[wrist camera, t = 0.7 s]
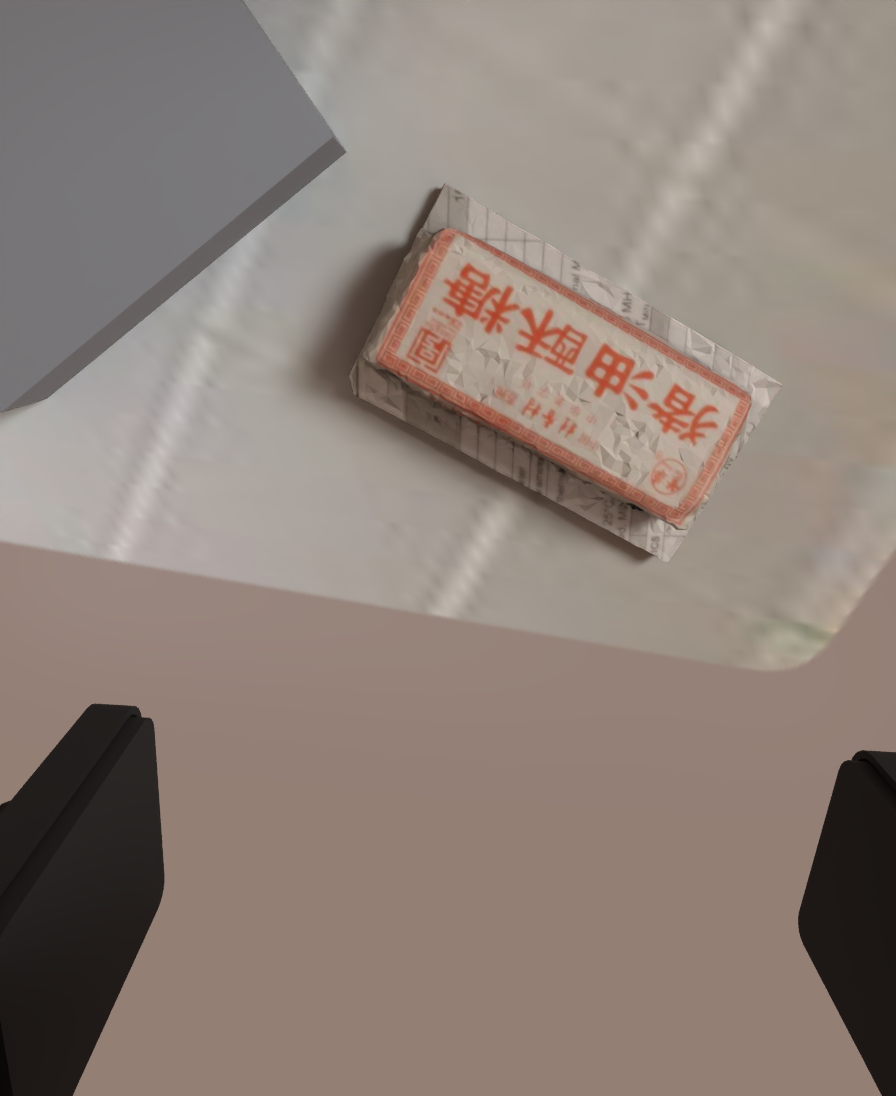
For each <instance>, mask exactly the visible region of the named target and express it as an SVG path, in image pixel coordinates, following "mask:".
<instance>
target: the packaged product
mask: <svg viewBox="0 0 896 1096" xmlns="http://www.w3.org/2000/svg"><path fill="white" fill-rule="evenodd" d="M349 379H350V383H351V387H352V391H353V394H354V395H355V396H357V397H359V398H361V399H363V400H365V401H367V402H369V403H371V404H373V405H375V406H376V407H378V408H380V409H382V410H384V411H386V412H388V413H390V414H392V415H394V416H395V417H397V418H399V419H401V420H403V421H405V422H407V423H409V424H411V425H413V426H414V427H416V428H418V429H420V430H422V431H424V432H426V433H428V434H429V435H431V436H433V437H435V438H437V439H439V440H441V441H442V442H444V443H446V444H448V445H450V446H452V447H454V448H455V449H457V450H459V451H461V452H463V453H465V454H467V455H468V456H470V457H472V458H474V459H476V460H477V461H479V462H481V463H483V464H485V465H486V466H488V467H490V468H492V469H494V470H495V471H497V472H499V473H501V474H503V475H505V476H507V477H509V478H511V479H513V480H514V481H516V482H518V483H520V484H522V485H524V486H526V487H528V488H530V489H532V490H534V491H536V492H537V493H539V494H541V495H543V496H545V497H547V498H549V499H551V500H552V501H554V502H556V503H558V504H560V505H562V506H564V507H566V508H568V509H570V510H571V511H573V512H575V513H577V514H578V515H580V516H582V517H584V518H586V519H587V520H589V521H591V522H593V523H595V524H597V525H599V526H600V527H602V528H604V529H606V530H608V531H610V532H612V533H614V534H615V535H617V536H619V537H621V538H623V539H625V540H627V541H629V542H630V543H632V544H634V545H635V546H637V547H640V548H642V549H644V550H645V551H647V552H649V553H651V554H653V555H654V556H656V557H658V558H660V559H661V560H663V561H665V562H668V561H669V559H670V558H671V556H672V555H673V553H674V552H675V551H676V549H677V548H678V546H679V545H680V543H681V542H682V540H683V539H684V537H685V536H686V534H687V532H688V530H689V529H690V527H691V525H692V524H693V522H694V521H695V520H696V518H697V517H698V516H699V514H700V512H701V511H702V509H703V508H704V506H705V504H706V503H707V501H708V500H709V499H710V497H711V495H712V493H713V491H714V490H715V488H716V486H717V484H718V483H719V481H720V479H721V478H722V476H723V475H724V474H725V472H726V471H727V469H728V468H729V467H730V465H731V464H732V462H733V460H734V459H735V457H736V456H737V454H738V453H739V451H740V450H741V449H742V447H743V446H744V444H745V443H746V441H747V440H748V438H749V437H750V435H751V434H752V432H753V431H754V429H755V428H756V426H757V424H758V423H759V421H760V420H761V418H762V417H763V415H764V414H765V412H766V411H767V409H768V408H769V404H770V402H771V400H772V399H773V398H774V396H775V395H776V394H777V392H778V391H779V390H780V388H781V387H782V384H781V383H779V382H777V381H776V380H774V379H772V378H771V377H769V376H767V375H766V374H764V373H763V372H761V371H759V370H758V369H756V368H755V367H753V366H752V365H750V364H748V363H747V362H745V361H743V360H742V359H740V358H738V357H737V356H735V355H733V354H732V353H730V352H728V351H727V350H725V349H723V348H722V347H720V346H719V345H717V344H715V343H714V342H712V341H710V340H709V339H707V338H705V337H703V336H702V335H700V334H698V333H697V332H695V331H693V330H692V329H690V328H688V327H687V326H685V325H683V324H681V323H680V322H678V321H676V320H675V319H673V318H671V317H669V316H668V315H666V314H664V313H663V312H661V311H659V310H657V309H656V308H654V307H652V306H651V305H649V304H647V303H645V302H644V301H642V300H640V299H638V298H637V297H635V296H633V295H632V294H630V293H629V292H628V291H626V290H624V289H623V288H621V287H619V286H617V285H616V284H614V283H612V282H611V281H609V280H607V279H605V278H603V277H601V276H599V275H597V274H595V273H593V272H591V271H589V270H587V269H585V268H583V267H582V266H581V265H580V263H578V262H576V261H574V260H572V259H571V258H569V257H567V256H566V255H564V254H562V253H561V252H559V251H558V250H557V249H556V248H554V247H553V246H551V245H549V244H547V243H546V242H544V241H542V240H540V239H538V238H537V237H535V236H533V235H531V234H530V233H528V232H526V231H524V230H523V229H521V228H519V227H517V226H516V225H514V224H512V223H510V222H509V221H507V220H505V219H504V218H502V217H501V216H499V215H497V214H496V213H494V212H492V211H491V210H489V209H487V208H485V207H483V206H481V205H480V204H478V203H477V202H475V201H474V200H472V199H471V198H469V197H467V196H466V195H464V194H462V193H461V192H459V191H457V190H456V189H454V188H453V187H451V186H449V185H448V184H446V183H444V185H443V187H442V189H441V191H440V193H439V195H438V197H437V199H436V201H435V203H434V205H433V207H432V209H431V211H430V212H429V214H428V216H427V218H426V220H425V222H424V224H423V226H422V228H421V229H420V230H419V232H418V234H417V235H416V237H415V240H414V242H413V244H412V247H411V249H410V251H409V253H408V254H407V255H406V257H405V258H404V259H403V262H402V264H401V266H400V269H399V271H398V273H397V275H396V277H395V279H394V281H393V283H392V285H391V287H390V289H389V291H388V294H387V296H386V301H385V303H384V305H383V307H382V310H381V312H380V314H379V316H378V318H377V320H376V322H375V324H374V326H373V329H372V331H371V333H370V335H369V337H368V338H367V340H366V342H365V344H364V346H363V348H362V350H361V352H360V354H359V356H358V358H357V360H356V362H355V364H354V366H353V368H352V370H351V372H350V374H349Z"/></svg>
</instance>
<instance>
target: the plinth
mask: <svg viewBox="0 0 896 1096" xmlns="http://www.w3.org/2000/svg"><path fill="white" fill-rule="evenodd" d="M345 153H346V151H345V149H344V148H343V147H342V145H341V144H340V142H339V141H338V139H337V138H336V136H335V135H334V133H333V132H332V131H331V129H330V128H329V126H328V125H327V123H326V122H325V120H324V119H323V117H322V116H321V114H320V113H319V112H318V110H317V109H316V107H315V106H314V104H313V103H312V101H311V100H310V98H309V97H308V95H307V94H306V93H305V91H304V90H303V88H302V87H301V85H300V84H299V82H298V81H297V79H296V78H295V77H294V75H293V74H292V72H291V71H290V69H289V68H288V66H287V65H286V63H285V62H284V60H283V59H282V58H281V56H280V55H279V53H278V52H277V50H276V49H275V47H274V46H273V44H272V43H271V41H270V40H269V39H268V37H267V36H266V34H265V33H264V31H263V30H262V28H261V27H260V25H259V24H258V22H257V21H256V20H255V18H254V17H253V15H252V14H251V12H250V11H249V9H248V8H247V6H246V5H245V4H244V2H243V1H242V0H0V411H1V412H5V411H8V410H11V409H14V408H18V407H21V406H24V405H27V404H31V403H34V402H37V401H40V400H44V399H47V398H48V397H49V396H51V395H52V394H53V393H54V392H55V391H57V390H58V389H59V388H60V387H62V386H63V385H64V384H65V383H66V382H68V381H69V380H70V379H71V378H72V377H74V376H75V375H76V374H77V373H79V372H80V371H81V370H82V369H83V368H85V367H86V366H87V365H88V364H89V363H91V362H92V361H93V360H94V359H96V358H97V357H98V356H99V355H100V354H102V353H103V352H104V351H105V350H106V349H108V348H109V347H110V346H111V345H113V344H114V343H115V342H116V341H117V340H119V339H120V338H121V337H122V336H123V335H125V334H126V333H127V332H128V331H130V330H131V329H132V328H133V327H134V326H136V325H137V324H138V323H139V322H140V321H142V320H143V319H144V318H145V317H147V316H148V315H149V314H150V313H151V312H153V311H154V310H155V309H156V308H157V307H159V306H160V305H161V304H162V303H164V302H165V301H166V300H167V299H168V298H170V297H171V296H172V295H173V294H174V293H176V292H177V291H178V290H179V289H181V288H182V287H183V286H184V285H185V284H187V283H188V282H189V281H190V280H191V279H193V278H194V277H195V276H196V275H198V274H199V273H200V272H201V271H202V270H204V269H205V268H206V267H207V266H209V265H210V264H211V263H212V262H213V261H215V260H216V259H217V258H218V257H219V256H221V255H222V254H223V253H224V252H226V251H227V250H228V249H229V248H230V247H232V246H233V245H234V244H235V243H236V242H238V241H239V240H240V239H241V238H243V237H244V236H245V235H246V234H247V233H249V232H250V231H251V230H252V229H253V228H255V227H256V226H257V225H258V224H260V223H261V222H262V221H263V220H264V219H266V218H267V217H268V216H269V215H270V214H272V213H273V212H274V211H275V210H277V209H278V208H279V207H280V206H281V205H283V204H284V203H285V202H286V201H287V200H289V199H290V198H291V197H292V196H294V195H295V194H296V193H297V192H298V191H300V190H301V189H302V188H303V187H304V186H306V185H307V184H308V183H309V182H311V181H312V180H313V179H314V178H315V177H317V176H318V175H319V174H320V173H321V172H323V171H324V170H325V169H326V168H328V167H329V166H330V165H331V164H332V163H334V162H335V161H336V160H337V159H338V158H340V157H341V156H342V155H343V154H345Z"/></svg>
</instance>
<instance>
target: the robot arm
mask: <svg viewBox="0 0 896 1096" xmlns="http://www.w3.org/2000/svg"><path fill="white" fill-rule="evenodd" d="M163 889H164V863H163V849H162V835H161V820H160V805H159V791H158V776H157V762H156V746H155V732H154V724H153V721H152V719H150V718H142V717H141V713H140V710H139V708H137V707H136V706H125V705H109V704H92V705H90V706H89V707H88V708H87V709H86V710H85V712H84V713H83V714H82V715H81V716H80V718H79V719H78V720H77V721H76V723H75V724H74V725H73V726H72V727H71V729H70V730H69V731H68V732H67V733H66V735H65V736H64V737H63V738H62V740H61V741H60V742H59V743H58V744H57V745H56V747H55V748H54V749H53V750H52V752H51V753H50V754H49V755H48V756H47V758H46V759H45V760H44V761H43V763H42V764H41V765H40V766H39V767H38V769H37V770H36V771H35V772H34V773H33V775H32V776H31V777H30V778H29V779H28V781H27V782H26V783H25V784H24V785H23V787H22V788H21V789H20V790H19V791H18V793H17V794H16V795H15V796H14V798H13V799H12V800H11V801H8V802H5V803H3V804H1V805H0V1096H73V1093H74V1091H75V1089H76V1087H77V1085H78V1083H79V1080H80V1078H81V1076H82V1074H83V1072H84V1069H85V1067H86V1065H87V1063H88V1061H89V1058H90V1056H91V1054H92V1052H93V1050H94V1048H95V1045H96V1043H97V1041H98V1039H99V1037H100V1034H101V1032H102V1030H103V1028H104V1026H105V1023H106V1021H107V1019H108V1017H109V1015H110V1012H111V1010H112V1008H113V1006H114V1004H115V1001H116V999H117V997H118V995H119V993H120V991H121V988H122V986H123V984H124V982H125V980H126V978H127V975H128V973H129V971H130V969H131V967H132V964H133V962H134V960H135V958H136V955H137V953H138V951H139V949H140V947H141V945H142V943H143V940H144V938H145V936H146V934H147V932H148V929H149V927H150V925H151V923H152V921H153V918H154V916H155V914H156V912H157V910H158V907H159V904H160V902H161V898H162V894H163ZM798 925H799V933H800V937H801V939H802V942H803V945H804V947H805V948H806V950H807V952H808V954H809V956H810V958H811V960H812V962H813V964H814V966H815V968H816V970H817V972H818V974H819V975H820V977H821V979H822V981H823V983H824V985H825V987H826V989H827V990H828V992H829V995H830V997H831V998H832V1000H833V1002H834V1004H835V1006H836V1008H837V1010H838V1012H839V1014H840V1016H841V1018H842V1020H843V1022H844V1023H845V1025H846V1027H847V1029H848V1031H849V1033H850V1035H851V1037H852V1039H853V1041H854V1043H855V1045H856V1046H857V1049H858V1050H859V1052H860V1054H861V1056H862V1058H863V1060H864V1062H865V1064H866V1066H867V1068H868V1070H869V1072H870V1073H871V1075H872V1077H873V1079H874V1081H875V1083H876V1085H877V1087H878V1089H879V1091H880V1093H881V1094H882V1096H896V752H880V751H864V750H862V751H859V752H857V753H856V754H855V755H854V756H853V758H852V760H847V761H845V762H843V763H842V765H841V766H840V769H839V771H838V775H837V779H836V782H835V786H834V790H833V793H832V796H831V800H830V804H829V807H828V811H827V814H826V818H825V821H824V825H823V829H822V832H821V836H820V839H819V843H818V846H817V850H816V854H815V857H814V861H813V864H812V868H811V871H810V875H809V879H808V882H807V886H806V889H805V893H804V896H803V900H802V904H801V907H800V911H799V916H798Z"/></svg>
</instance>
